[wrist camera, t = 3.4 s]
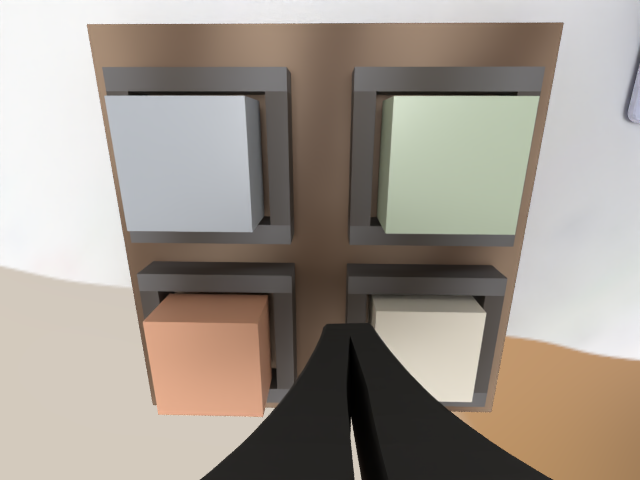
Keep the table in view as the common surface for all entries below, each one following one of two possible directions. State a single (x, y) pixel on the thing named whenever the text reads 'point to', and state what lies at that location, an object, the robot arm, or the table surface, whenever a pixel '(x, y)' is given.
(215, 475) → the robot arm
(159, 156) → the key slate
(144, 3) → the table surface
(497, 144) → the key sage
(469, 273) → the keypad
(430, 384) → the key cream
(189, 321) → the key terracotta
